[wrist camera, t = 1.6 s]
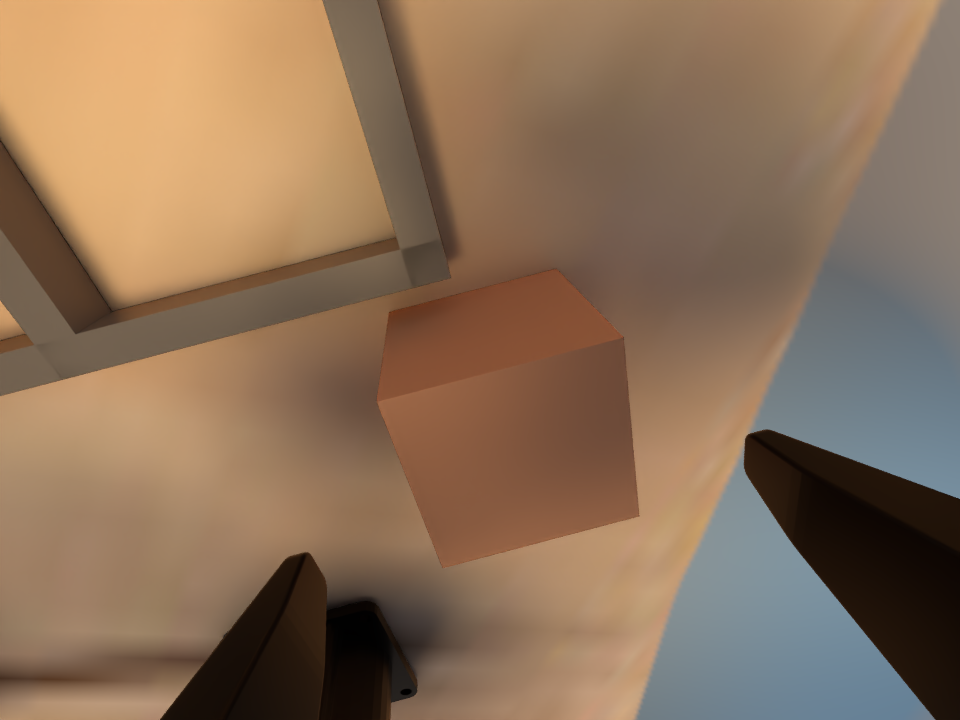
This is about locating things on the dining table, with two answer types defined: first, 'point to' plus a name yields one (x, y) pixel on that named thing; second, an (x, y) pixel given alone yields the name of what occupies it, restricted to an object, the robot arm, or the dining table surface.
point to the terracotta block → (509, 415)
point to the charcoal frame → (237, 303)
